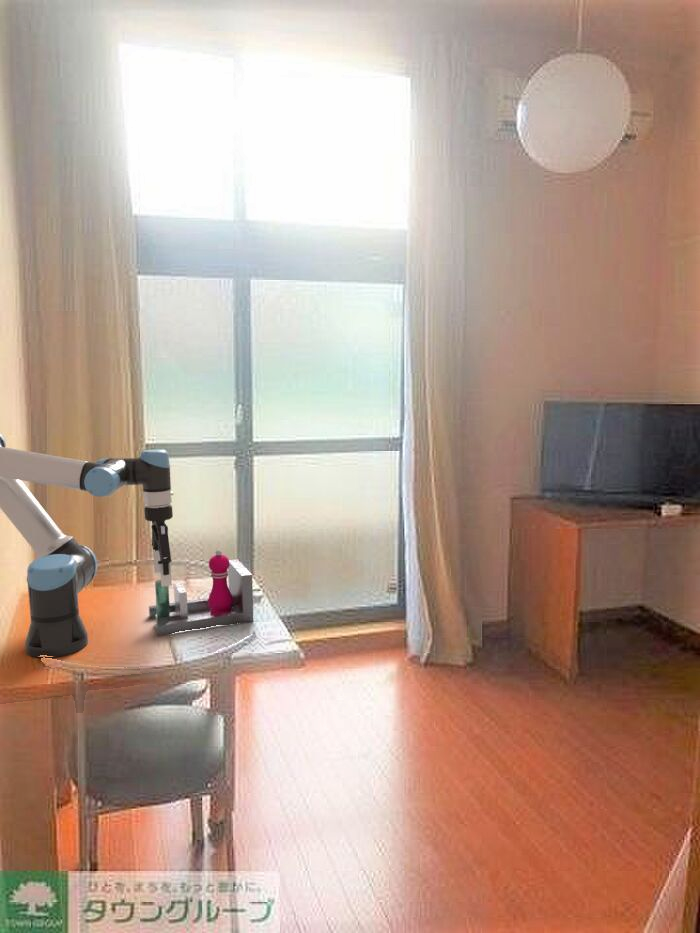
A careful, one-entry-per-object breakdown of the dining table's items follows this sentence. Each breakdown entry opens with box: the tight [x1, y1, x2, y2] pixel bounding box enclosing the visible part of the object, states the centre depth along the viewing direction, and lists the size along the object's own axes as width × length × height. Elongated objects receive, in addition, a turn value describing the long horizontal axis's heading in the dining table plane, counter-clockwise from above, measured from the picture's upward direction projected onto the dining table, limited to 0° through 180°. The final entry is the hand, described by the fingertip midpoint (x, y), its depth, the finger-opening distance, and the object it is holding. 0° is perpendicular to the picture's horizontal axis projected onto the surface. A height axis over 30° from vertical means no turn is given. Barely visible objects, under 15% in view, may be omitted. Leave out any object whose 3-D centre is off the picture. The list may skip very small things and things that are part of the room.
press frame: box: [148, 559, 254, 637], centre depth 196 cm, size 27×17×14 cm, turn 113°
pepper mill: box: [208, 549, 233, 616], centre depth 198 cm, size 7×7×20 cm
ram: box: [154, 579, 189, 625], centre depth 193 cm, size 8×10×12 cm
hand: (162, 578), depth 191 cm, fingers open, 13 cm apart
